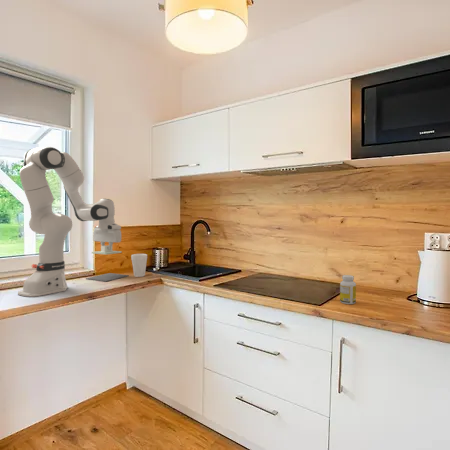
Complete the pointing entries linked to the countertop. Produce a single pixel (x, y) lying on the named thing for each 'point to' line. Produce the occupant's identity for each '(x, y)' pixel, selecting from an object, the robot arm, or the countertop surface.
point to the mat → (107, 277)
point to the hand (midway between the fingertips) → (106, 249)
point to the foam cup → (139, 264)
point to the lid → (106, 251)
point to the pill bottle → (348, 290)
